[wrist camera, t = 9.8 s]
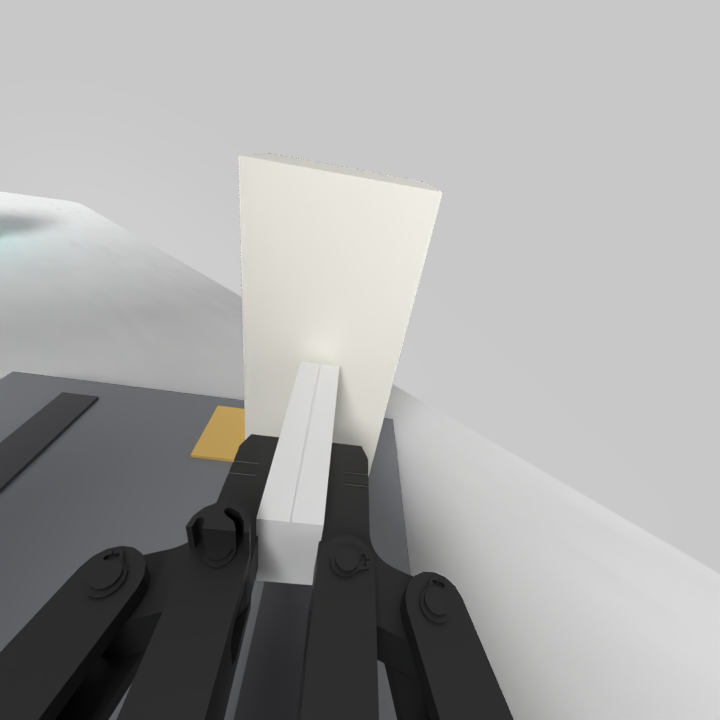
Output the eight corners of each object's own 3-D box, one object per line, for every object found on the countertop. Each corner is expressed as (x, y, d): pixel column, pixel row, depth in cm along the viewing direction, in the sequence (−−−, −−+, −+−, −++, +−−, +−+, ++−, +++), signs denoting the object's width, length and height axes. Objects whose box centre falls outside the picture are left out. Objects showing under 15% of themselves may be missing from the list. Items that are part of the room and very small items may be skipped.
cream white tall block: (364, 491, 18) (442, 192, 10) (246, 478, 17) (238, 155, 10) (364, 435, 21) (422, 181, 14) (265, 423, 20) (270, 153, 13)
